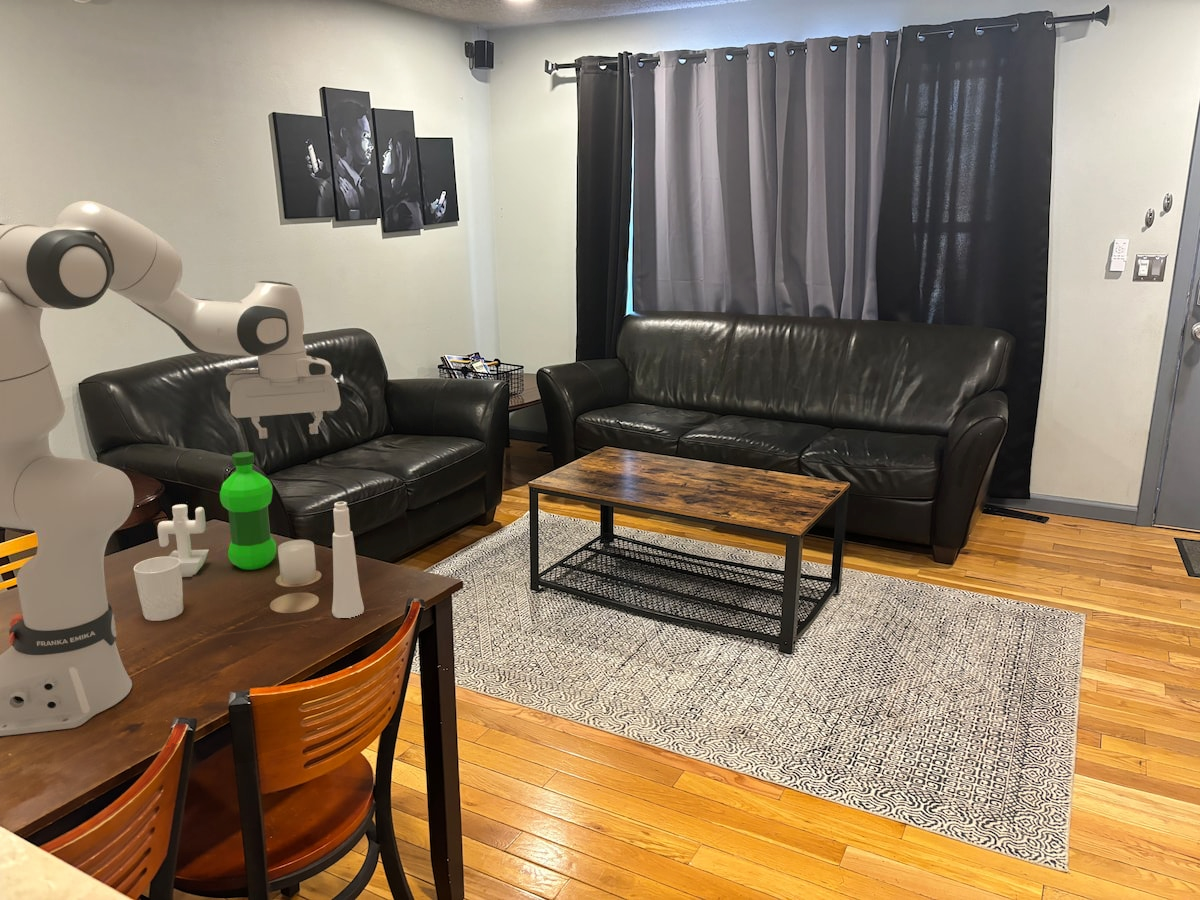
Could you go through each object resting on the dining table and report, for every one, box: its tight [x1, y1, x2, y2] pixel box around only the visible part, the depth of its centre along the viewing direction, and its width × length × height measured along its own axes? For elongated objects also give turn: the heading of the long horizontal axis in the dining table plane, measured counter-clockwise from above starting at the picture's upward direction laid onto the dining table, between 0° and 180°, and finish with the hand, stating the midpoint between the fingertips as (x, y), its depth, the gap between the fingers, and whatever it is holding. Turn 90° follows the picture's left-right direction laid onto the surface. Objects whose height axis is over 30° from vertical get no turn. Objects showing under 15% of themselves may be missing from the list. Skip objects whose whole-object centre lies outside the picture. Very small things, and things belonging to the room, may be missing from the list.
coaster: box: [275, 569, 322, 588], centre depth 178 cm, size 9×9×1 cm
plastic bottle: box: [219, 451, 277, 571], centre depth 181 cm, size 10×10×25 cm
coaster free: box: [269, 592, 320, 614], centre depth 167 cm, size 9×9×1 cm
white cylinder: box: [277, 539, 317, 585], centre depth 177 cm, size 7×7×7 cm
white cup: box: [132, 556, 184, 622], centre depth 161 cm, size 8×8×10 cm
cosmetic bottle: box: [331, 501, 365, 619], centre depth 161 cm, size 6×6×22 cm
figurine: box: [157, 503, 210, 578], centre depth 179 cm, size 7×9×15 cm
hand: (289, 435), depth 169 cm, fingers open, 8 cm apart
